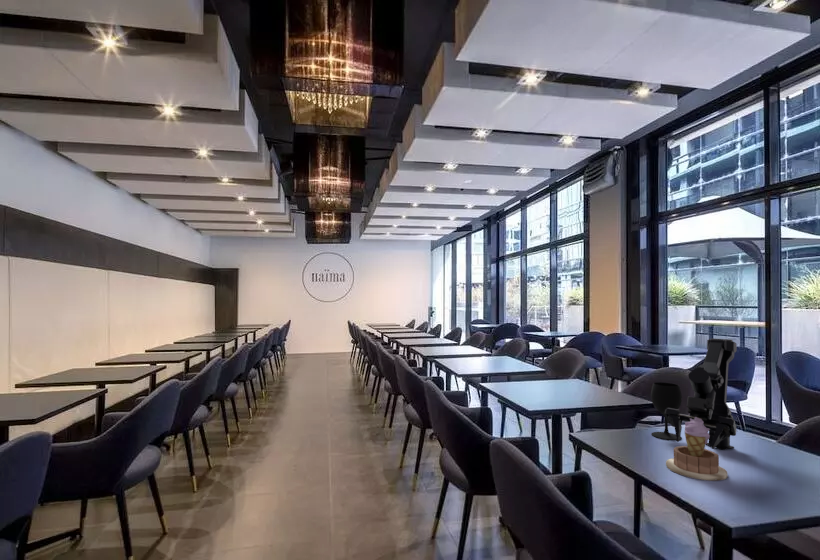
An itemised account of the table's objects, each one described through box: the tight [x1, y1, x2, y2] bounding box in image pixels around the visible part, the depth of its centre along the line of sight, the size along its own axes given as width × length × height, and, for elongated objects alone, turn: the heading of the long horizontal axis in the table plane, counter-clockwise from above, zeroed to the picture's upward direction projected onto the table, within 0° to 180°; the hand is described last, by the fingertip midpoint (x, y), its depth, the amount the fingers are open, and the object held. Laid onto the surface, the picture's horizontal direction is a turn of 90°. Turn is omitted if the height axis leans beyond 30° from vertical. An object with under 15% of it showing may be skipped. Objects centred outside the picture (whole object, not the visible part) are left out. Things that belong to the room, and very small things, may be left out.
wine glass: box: [650, 381, 683, 442], centre depth 175 cm, size 10×10×20 cm
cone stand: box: [665, 445, 729, 482], centre depth 140 cm, size 16×16×6 cm
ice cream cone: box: [684, 417, 710, 457], centre depth 140 cm, size 7×6×15 cm
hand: (694, 444), depth 139 cm, fingers open, 9 cm apart
